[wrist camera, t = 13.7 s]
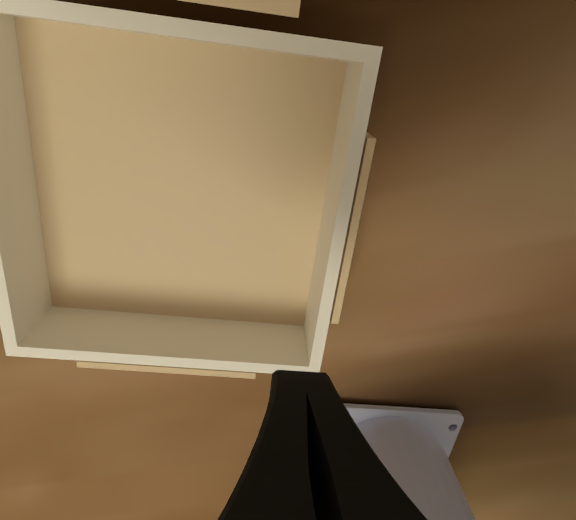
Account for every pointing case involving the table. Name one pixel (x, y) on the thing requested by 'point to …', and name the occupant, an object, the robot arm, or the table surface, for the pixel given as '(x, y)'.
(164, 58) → the carton
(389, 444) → the robot arm
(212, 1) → the flap
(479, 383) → the table surface
